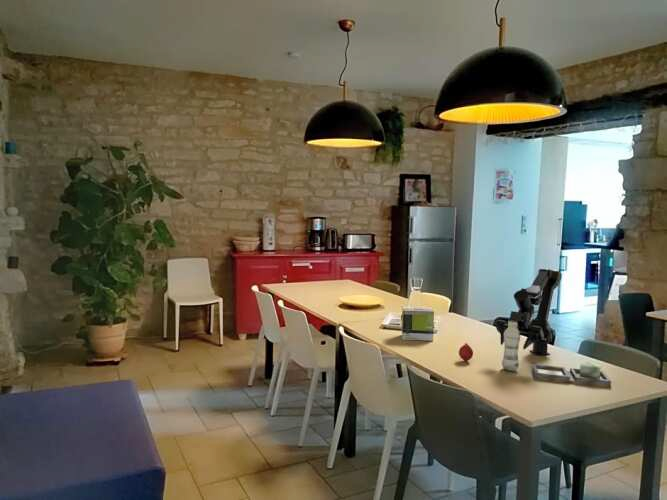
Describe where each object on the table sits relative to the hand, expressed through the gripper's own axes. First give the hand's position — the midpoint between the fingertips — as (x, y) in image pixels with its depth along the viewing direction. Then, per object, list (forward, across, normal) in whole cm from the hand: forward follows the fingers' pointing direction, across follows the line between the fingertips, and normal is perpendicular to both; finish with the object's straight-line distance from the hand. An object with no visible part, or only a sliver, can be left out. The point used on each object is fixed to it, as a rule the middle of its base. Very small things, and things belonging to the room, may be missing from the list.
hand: (512, 346), depth 207 cm
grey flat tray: (+2, +21, +11) cm, 24 cm away
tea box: (-4, -53, +18) cm, 56 cm away
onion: (+9, -18, +5) cm, 21 cm away
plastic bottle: (+8, 0, +6) cm, 10 cm away
